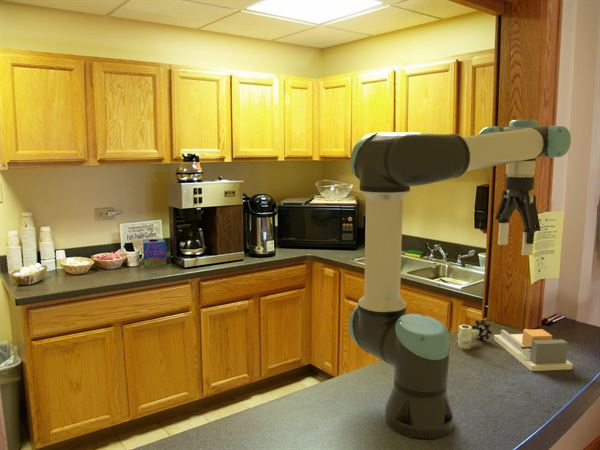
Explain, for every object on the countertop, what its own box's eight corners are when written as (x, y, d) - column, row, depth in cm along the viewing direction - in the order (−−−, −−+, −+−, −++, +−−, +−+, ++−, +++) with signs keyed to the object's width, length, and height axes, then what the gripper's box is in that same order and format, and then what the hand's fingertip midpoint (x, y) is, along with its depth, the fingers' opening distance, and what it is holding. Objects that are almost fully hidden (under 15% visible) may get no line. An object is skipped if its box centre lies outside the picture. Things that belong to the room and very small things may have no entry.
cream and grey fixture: (531, 370, 138) (533, 345, 137) (493, 339, 160) (495, 317, 159) (572, 369, 139) (574, 343, 138) (529, 338, 161) (531, 315, 160)
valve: (469, 352, 150) (491, 342, 158) (471, 331, 149) (493, 322, 157) (451, 345, 156) (473, 336, 163) (452, 325, 154) (474, 316, 162)
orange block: (521, 357, 143) (522, 337, 142) (511, 349, 149) (513, 330, 147) (561, 355, 144) (562, 335, 143) (550, 347, 150) (552, 328, 149)
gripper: (559, 179, 129) (551, 259, 133) (510, 172, 153) (505, 240, 157) (531, 179, 128) (524, 260, 132) (486, 172, 153) (482, 240, 156)
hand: (514, 249), depth 144 cm, fingers open, 13 cm apart
